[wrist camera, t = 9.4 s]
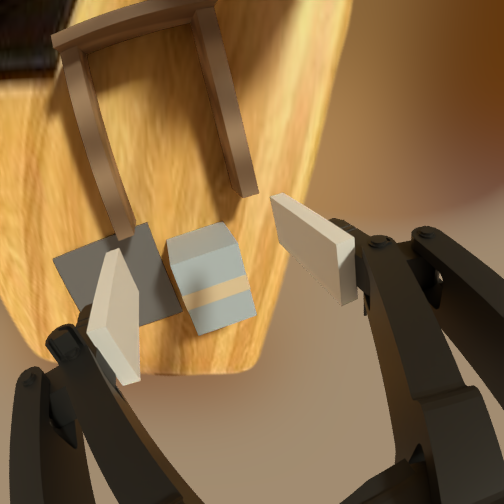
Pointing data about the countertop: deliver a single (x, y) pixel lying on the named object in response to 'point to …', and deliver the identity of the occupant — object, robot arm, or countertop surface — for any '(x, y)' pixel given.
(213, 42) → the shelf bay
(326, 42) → the countertop surface
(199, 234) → the block
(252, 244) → the countertop surface
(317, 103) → the countertop surface
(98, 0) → the countertop surface
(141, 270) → the mat
